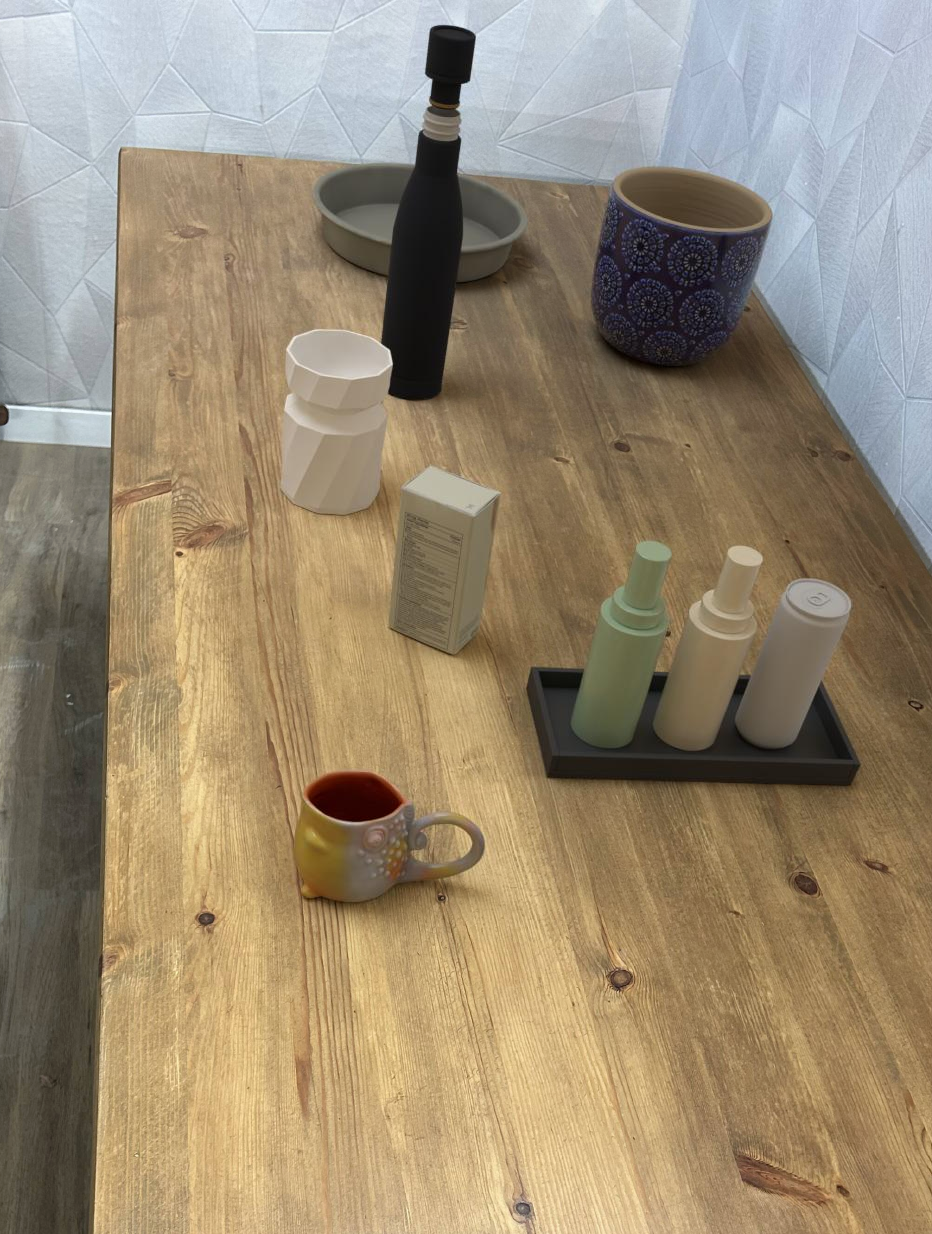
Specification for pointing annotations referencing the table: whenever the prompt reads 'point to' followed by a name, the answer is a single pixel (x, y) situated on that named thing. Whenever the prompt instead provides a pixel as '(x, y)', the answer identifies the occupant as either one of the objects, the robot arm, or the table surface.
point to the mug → (367, 838)
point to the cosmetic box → (442, 558)
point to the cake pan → (368, 206)
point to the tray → (729, 759)
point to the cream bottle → (710, 656)
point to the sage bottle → (624, 653)
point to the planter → (676, 262)
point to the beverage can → (792, 662)
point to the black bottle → (429, 228)
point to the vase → (334, 420)
